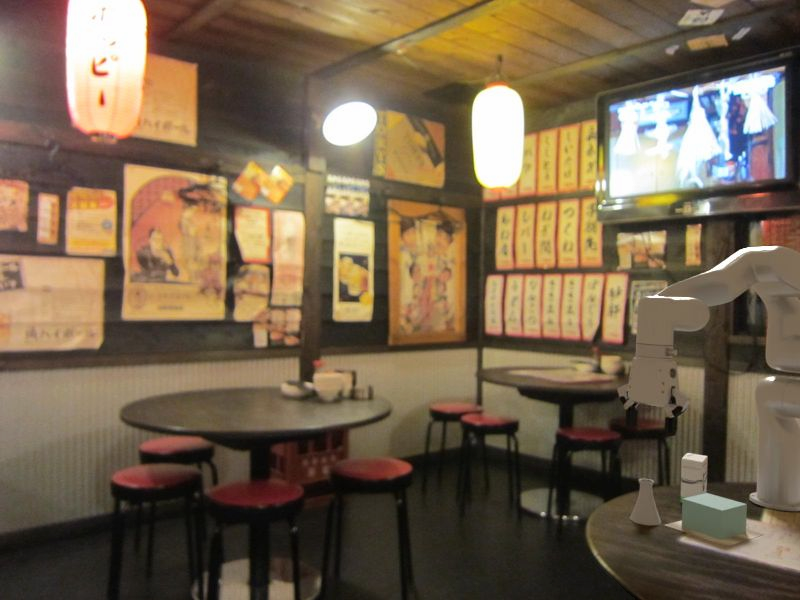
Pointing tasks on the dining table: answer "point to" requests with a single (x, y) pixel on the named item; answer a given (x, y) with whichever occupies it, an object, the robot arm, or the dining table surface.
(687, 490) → the ink box
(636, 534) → the dining table surface
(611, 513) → the dining table surface
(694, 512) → the teal block
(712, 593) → the dining table surface
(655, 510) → the flask
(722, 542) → the base board
